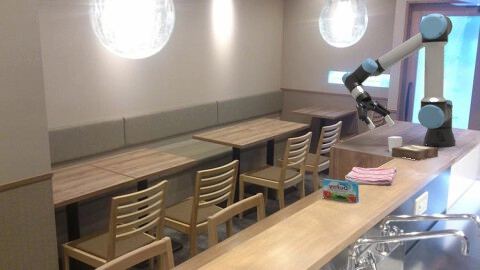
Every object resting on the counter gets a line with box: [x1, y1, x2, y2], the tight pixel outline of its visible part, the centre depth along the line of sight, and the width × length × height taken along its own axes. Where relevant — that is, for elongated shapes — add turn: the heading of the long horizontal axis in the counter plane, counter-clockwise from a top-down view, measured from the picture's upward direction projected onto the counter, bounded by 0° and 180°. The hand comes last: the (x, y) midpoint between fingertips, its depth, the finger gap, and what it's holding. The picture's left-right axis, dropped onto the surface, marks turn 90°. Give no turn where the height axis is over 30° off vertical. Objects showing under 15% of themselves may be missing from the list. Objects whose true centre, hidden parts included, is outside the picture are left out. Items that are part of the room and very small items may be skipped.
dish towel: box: [344, 166, 398, 186], centre depth 177 cm, size 17×23×4 cm
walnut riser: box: [391, 143, 439, 161], centre depth 212 cm, size 14×14×4 cm
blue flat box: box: [322, 178, 360, 204], centre depth 150 cm, size 12×2×6 cm, turn 50°
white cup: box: [387, 135, 403, 153], centre depth 226 cm, size 7×7×7 cm
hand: (383, 127), depth 231 cm, fingers open, 13 cm apart
